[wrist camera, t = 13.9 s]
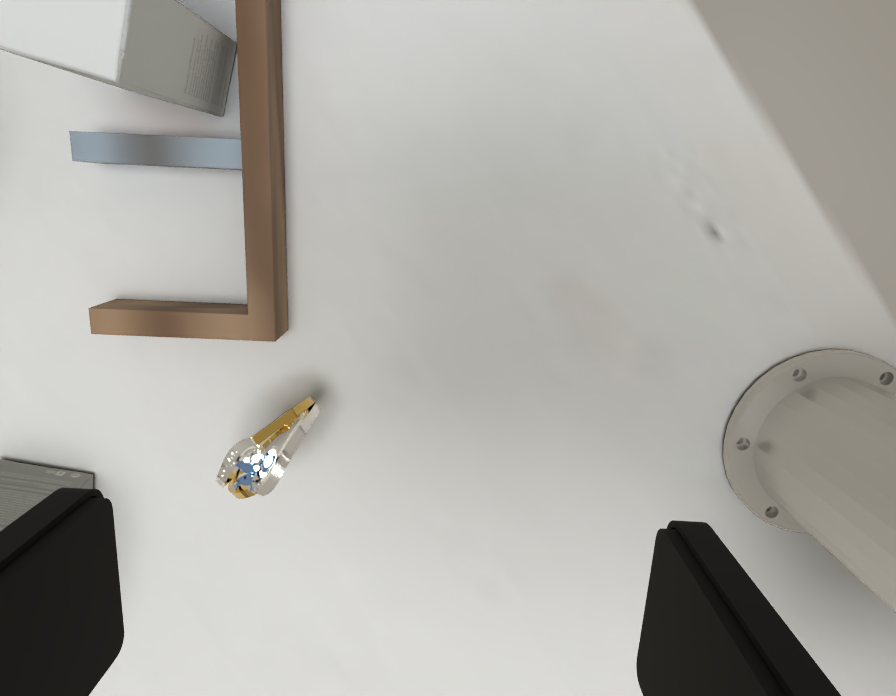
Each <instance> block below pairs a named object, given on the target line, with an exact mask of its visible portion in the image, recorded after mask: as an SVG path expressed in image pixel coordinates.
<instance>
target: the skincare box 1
mask: <svg viewBox="0 0 896 696" xmlns="http://www.w3.org/2000/svg"><path fill="white" fill-rule="evenodd" d="M59 488H83V489H93V475H92V474H87V473H82V472H76V471H70V470H62V469H55V468H48V467H42V466H36V465H31V464H24V463H18V462H13V461H9V460H4V459H1V460H0V531H1V530H3V529H4V528H5V527H7V526H8V525H9V524H11V523H12V522H13V521H15V520H16V519H18V518H19V517H20V516H22V515H23V514H24V513H26V512H27V511H28V510H30V509H31V508H32V507H34V506H35V505H37V504H38V503H39V502H41V501H42V500H43V499H45V498H46V497H47V496H49V495H50V494H51V493H53V492H54V491H56V490H57V489H59Z"/></svg>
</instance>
